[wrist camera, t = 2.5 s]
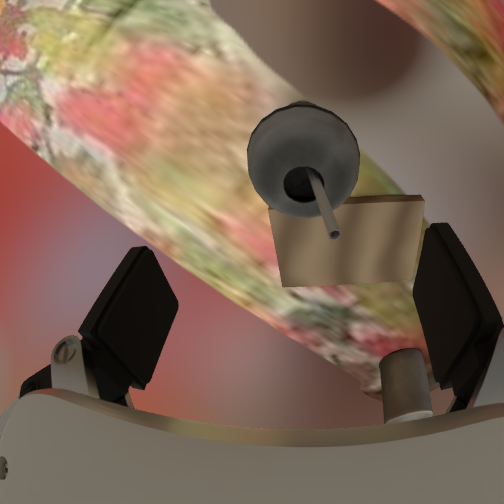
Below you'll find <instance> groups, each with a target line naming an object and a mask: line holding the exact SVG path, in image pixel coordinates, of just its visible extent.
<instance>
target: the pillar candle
mask: <svg viewBox="0 0 504 504" xmlns="http://www.w3.org/2000/svg"><path fill="white" fill-rule="evenodd" d="M379 368H380V373H381V386H382V398H383V411H384V424H392V423H398V422H405V421H411V420H417V419H422V418H428V417H430V416H431V415H432V413H433V411H432V405H431V398H430V392H429V386H428V380H427V374H426V369H425V364H424V359H423V355H422V353H421V351H419V350H417V349H412V348H411V349H403V350H399V351H396V352H394V353H392V354H389V355H387V356H386V357H384V358H383V359H382V360H381V361H380V363H379Z"/></svg>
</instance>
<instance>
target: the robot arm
mask: <svg viewBox="0 0 504 504" xmlns="http://www.w3.org/2000/svg"><path fill="white" fill-rule="evenodd" d="M413 299H414V302H415V305H416V308H417V312H418V315H419V318H420V322H421V325H422V329H423V333H424V336H425V340H426V344H427V348H428V352H429V356H430V360H431V365H432V369H433V374H434V378H435V381H436V382H439V383H440V388H441V390H443V389H447V388H451V387H453V391H454V395H455V396H454V398H453V400H452V402H451V404H450V406H449V408H448V409H447V411H446V413H445V414H442V415H438V416H433V417H428V418H422V419H417V420H411V421H405V422H398V423H392V424H384V425H376V426H367V427H357V428H344V429H325V430H280V429H259V428H245V427H234V426H224V425H216V424H209V423H202V422H195V421H189V420H184V419H178V418H173V417H168V416H163V415H158V414H154V413H149V412H145V411H141V410H137V409H135V408H134V405H133V402H132V399H131V396H130V393H129V390H128V389H129V386H131V387H132V388H136V389H141V390H144V389H145V387H146V384H147V383H149V382H150V380H151V378H152V375H153V372H154V370H155V367H156V364H157V362H158V359H159V357H160V354H161V351H162V349H163V346H164V344H165V341H166V338H167V336H168V333H169V331H170V328H171V325H172V323H173V321H174V318H175V316H176V313H177V311H178V300H177V298H176V296H175V294H174V293H173V291H172V289H171V287H170V285H169V283H168V281H167V279H166V277H165V275H164V273H163V271H162V269H161V267H160V265H159V263H158V261H157V259H156V257H155V255H154V253H153V251H152V250H150V249H149V248H148V247H147V246H141V247H133V248H131V249H130V250H129V251H128V253H127V254H126V256H125V257H124V259H123V260H122V262H121V263H120V264H119V266H118V267H117V269H116V271H115V272H114V274H113V275H112V276H111V278H110V280H109V281H108V283H107V284H106V286H105V287H104V289H103V290H102V292H101V293H100V295H99V297H98V298H97V300H96V302H95V303H94V305H93V306H92V308H91V310H90V312H89V313H88V315H87V316H86V318H85V320H84V321H83V323H82V325H81V327H80V328H79V330H78V332H79V333H80V334H81V335H82V337H83V338H82V340H80V339H79V338H78V337H77V336H74V335H70V336H67V337H64V338H63V339H62V340H61V341H59V342H58V343H57V344H56V346H55V347H54V349H53V351H52V354H51V364H50V365H48V366H47V367H45V368H43V369H42V370H40V371H39V372H37V373H35V374H34V375H32V376H31V377H29V378H28V379H27V380H25V381H24V382H23V384H22V386H21V390H20V397H17V398H16V399H15V400H14V401H13V403H12V404H11V405H10V406H9V407H8V408H7V409H6V410H5V411H4V413H3V414H2V415H1V416H0V504H504V324H503V322H502V317H501V315H500V313H499V311H498V309H497V307H496V304H495V302H494V300H493V299H492V296H491V294H490V292H489V290H488V288H487V287H486V285H485V283H484V281H483V279H482V277H481V276H480V273H479V272H478V270H477V268H476V267H475V265H474V263H473V261H472V260H471V258H470V256H469V254H468V253H467V251H466V250H465V248H464V246H463V245H462V243H461V242H460V241H459V238H458V237H457V235H456V234H455V233H454V231H453V230H452V228H451V226H450V225H449V224H448V223H432V224H431V225H430V228H427V229H426V230H425V235H424V240H423V246H422V251H421V256H420V261H419V265H418V270H417V274H416V278H415V282H414V286H413Z"/></svg>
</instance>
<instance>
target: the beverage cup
mask: <svg viewBox="0 0 504 504" xmlns="http://www.w3.org/2000/svg"><path fill="white" fill-rule="evenodd" d="M247 159H248V172H249V176H250V179H251V181H252V183H253V186H254V188H255V190H256V192H257V193H258V194H259V195H260V197H261V198H262V199H263V200H264V201H265V203H266V204H268V205H269V206H271V207H272V208H274V209H275V210H277V211H278V212H280V213H282V214H285V215H288V216H291V217H294V218H314V217H318V216H322V217H323V220H324V224H325V227H326V230H327V233H328V236H329V238H330V239H331V240H337V239H339V238H340V237H341V231H340V228H339V226H338V223H337V221H336V218H335V215H334V213H333V210H335V209H337V208H339V207H340V206H341V204H342V203H343V202H344V201H345V200H346V199H347V198H348V197H349V196H350V195H351V193H352V191H353V189H354V187H355V185H356V182H357V180H358V173H359V164H360V152H359V148H358V144H357V139H356V137H355V136H354V134H353V133H352V131H351V130H350V128H349V126H348V125H347V123H345V122H344V121H343V120H342V119H341V118H339V117H338V116H337V115H335V114H334V113H333V112H331V111H329V110H326V109H324V108H321V107H318V106H316V105H315V104H312V103H309V102H304V101H299V102H295V103H292V104H290V105H288V106H286V107H283V108H279V109H276V110H275V111H273V112H272V113H270V114H269V115H268V116H266V117H265V118H263V119H262V120H261V121H260V123H259V124H258V125H257V127H256V128H255V130H254V131H253V132H252V134H251V137H250V141H249V144H248V148H247Z"/></svg>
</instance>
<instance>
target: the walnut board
mask: <svg viewBox="0 0 504 504" xmlns="http://www.w3.org/2000/svg"><path fill="white" fill-rule="evenodd" d="M424 205H425V200H424V199H423V197H422V196H421V195H396V196H371V197H352V198H347V199H346V200H345V201H344V202H343V203H342V204H341V206H340V207H339V208H337V209H335V210H333V213H334V215H335V218H336V221H337V223H338V226H339V228H340V231H341V237H340V238H339V239H337V240H331V239H330V238H329V236H328V233H327V230H326V227H325V224H324V220H323V217H322V216H318V217H314V218H294V217H291V216H288V215H285V214H282V213H280V212H278V211H277V210H275V209H274V208H272V207H271V206H269V208H268V212H269V217H270V223H271V228H272V233H273V238H274V244H275V249H276V254H277V260H278V265H279V271H280V276H281V282H282V287H304V286H325V285H343V284H360V283H375V282H389V281H402V280H411V279H412V275H413V270H414V265H415V261H416V256H417V250H418V245H419V239H420V233H421V227H422V220H423V213H424Z"/></svg>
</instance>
